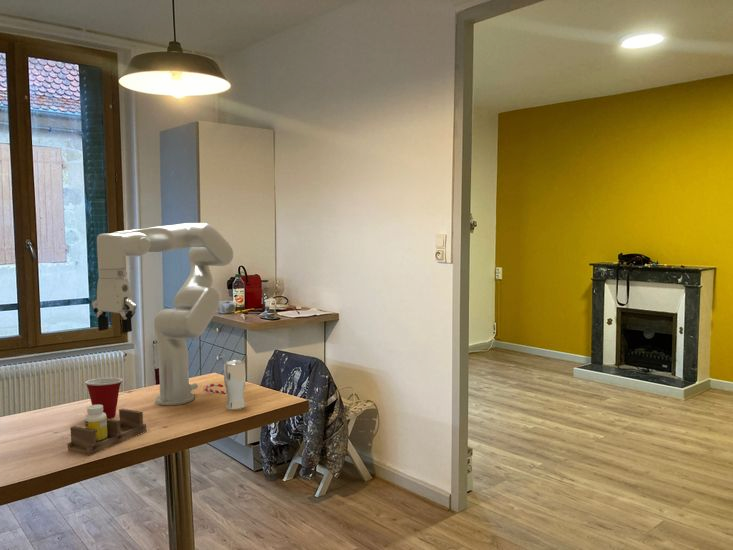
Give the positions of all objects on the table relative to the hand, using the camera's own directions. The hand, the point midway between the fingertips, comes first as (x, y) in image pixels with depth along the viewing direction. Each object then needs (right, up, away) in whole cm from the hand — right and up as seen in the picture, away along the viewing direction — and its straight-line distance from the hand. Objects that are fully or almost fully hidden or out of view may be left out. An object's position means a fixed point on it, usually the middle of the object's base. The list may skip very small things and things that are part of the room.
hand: (115, 330), depth 179 cm
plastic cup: (-6, -28, +8) cm, 30 cm away
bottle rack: (+4, -30, -13) cm, 33 cm away
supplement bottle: (+2, -29, -17) cm, 34 cm away
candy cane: (+23, -26, +36) cm, 50 cm away
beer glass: (+33, -27, +16) cm, 45 cm away
